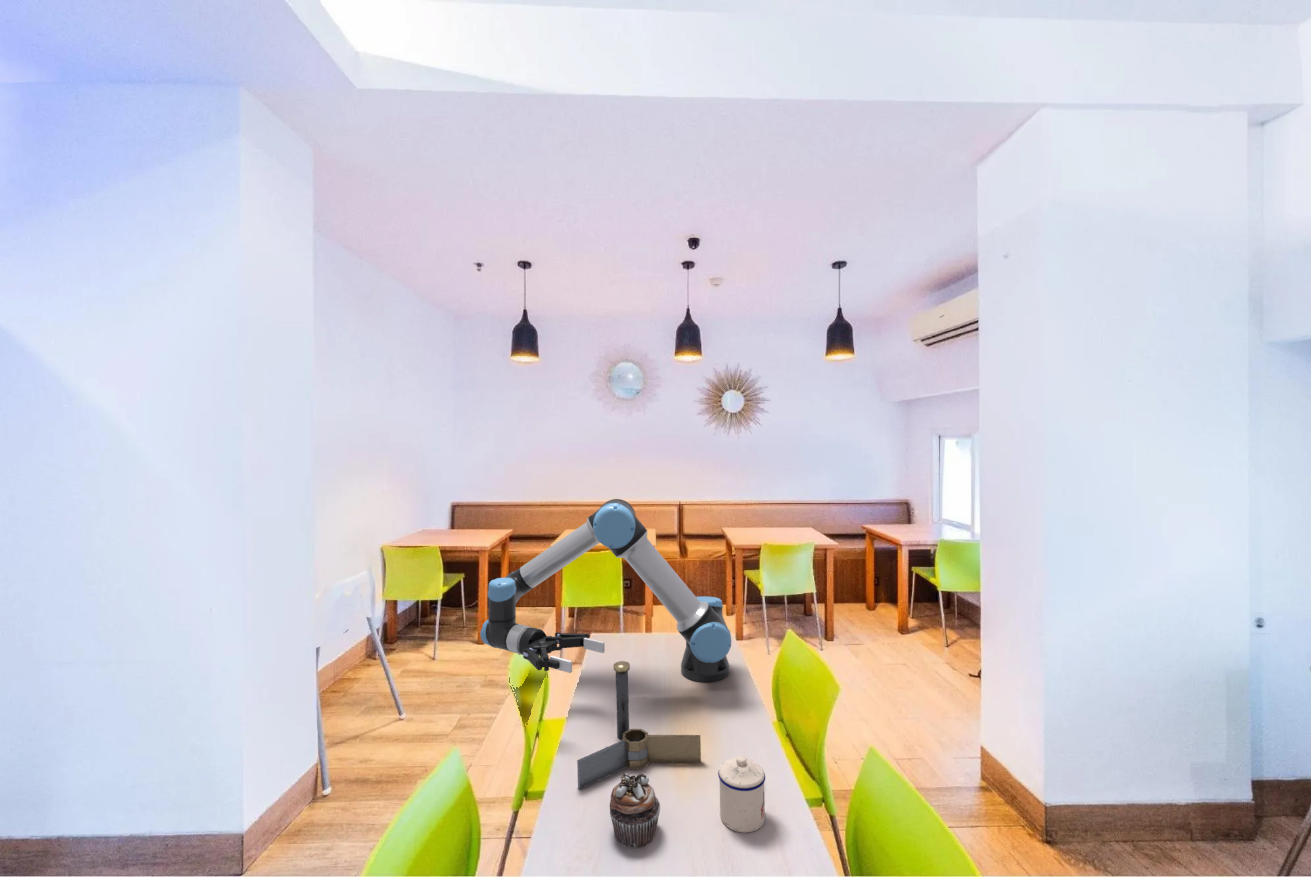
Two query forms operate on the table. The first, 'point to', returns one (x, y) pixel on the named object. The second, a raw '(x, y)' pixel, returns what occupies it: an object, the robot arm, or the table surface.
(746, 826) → the teacup with lid
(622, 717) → the hinge pin
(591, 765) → the hinge leaf
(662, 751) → the tan flat knuckled part
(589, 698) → the table surface
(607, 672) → the table surface
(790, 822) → the table surface
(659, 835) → the table surface
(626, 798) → the cupcake
